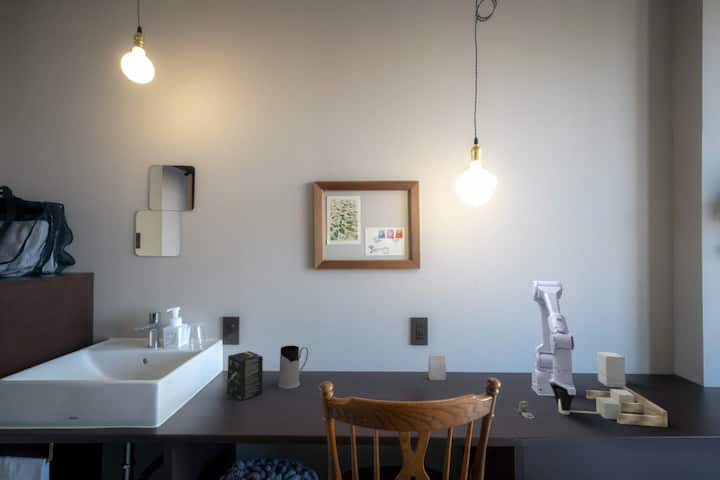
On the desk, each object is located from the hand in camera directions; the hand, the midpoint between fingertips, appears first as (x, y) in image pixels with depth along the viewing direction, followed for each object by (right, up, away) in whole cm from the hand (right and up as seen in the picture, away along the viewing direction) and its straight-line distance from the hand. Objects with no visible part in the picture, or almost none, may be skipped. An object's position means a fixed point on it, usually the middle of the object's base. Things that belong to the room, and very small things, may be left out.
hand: (563, 407), depth 115 cm
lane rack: (+22, -2, +1) cm, 22 cm away
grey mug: (-98, -2, +25) cm, 101 cm away
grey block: (+25, -2, +6) cm, 26 cm away
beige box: (-36, -3, +31) cm, 48 cm away
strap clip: (-14, -2, 0) cm, 14 cm away
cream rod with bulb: (+8, -1, -1) cm, 8 cm away
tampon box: (-115, -2, +14) cm, 116 cm away
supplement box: (+37, -4, +26) cm, 45 cm away
